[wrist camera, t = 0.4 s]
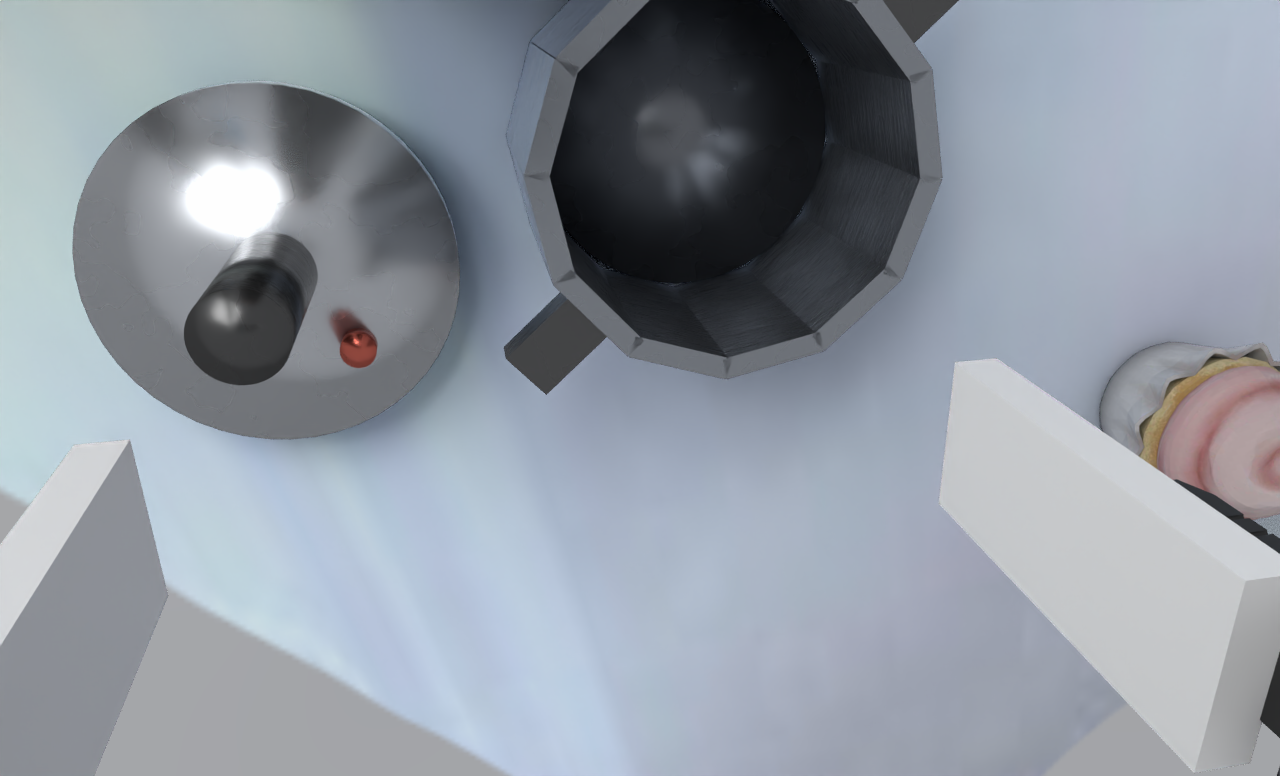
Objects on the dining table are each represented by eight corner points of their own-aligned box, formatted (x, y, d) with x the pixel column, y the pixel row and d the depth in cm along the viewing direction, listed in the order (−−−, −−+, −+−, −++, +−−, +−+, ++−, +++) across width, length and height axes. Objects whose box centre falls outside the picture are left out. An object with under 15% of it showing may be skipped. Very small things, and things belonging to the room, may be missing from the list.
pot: (620, 406, 45) (660, 501, 37) (385, 189, 40) (371, 244, 32) (957, 89, 43) (1080, 116, 35) (755, -192, 37) (845, -239, 29)
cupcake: (1173, 272, 48) (1343, 341, 39) (1265, 383, 52) (1440, 469, 43) (1032, 411, 50) (1165, 508, 41) (1131, 509, 53) (1273, 618, 44)
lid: (14, 259, 38) (-116, 346, 29) (257, -6, 37) (197, 0, 27) (304, 474, 44) (270, 604, 35) (528, 254, 42) (553, 330, 33)
